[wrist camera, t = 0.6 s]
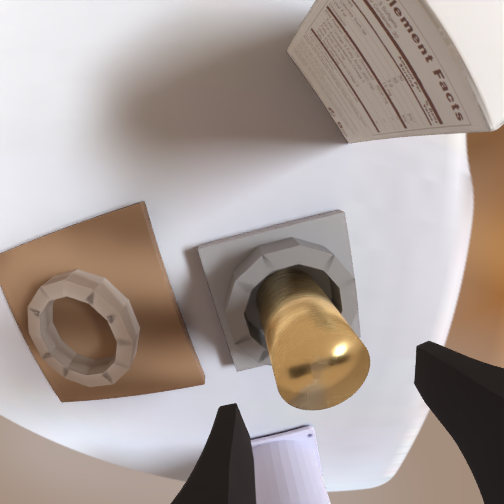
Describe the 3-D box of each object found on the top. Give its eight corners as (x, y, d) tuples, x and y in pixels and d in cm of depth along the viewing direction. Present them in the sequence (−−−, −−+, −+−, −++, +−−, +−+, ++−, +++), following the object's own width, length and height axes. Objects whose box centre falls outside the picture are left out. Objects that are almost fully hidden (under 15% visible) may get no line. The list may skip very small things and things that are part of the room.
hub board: (204, 375, 22) (203, 402, 19) (65, 395, 22) (53, 417, 19) (144, 201, 18) (130, 207, 15) (-2, 254, 18) (-25, 266, 15)
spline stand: (355, 330, 22) (371, 351, 19) (236, 363, 22) (238, 389, 19) (338, 209, 19) (357, 217, 17) (198, 245, 19) (194, 259, 16)
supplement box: (366, 13, 16) (476, -74, 4) (422, 101, 18) (568, 77, 6) (280, 50, 17) (356, -78, 4) (345, 147, 19) (498, 138, 6)
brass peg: (323, 317, 20) (371, 393, 13) (264, 333, 20) (286, 420, 12) (313, 260, 19) (367, 320, 11) (249, 277, 19) (267, 350, 11)
